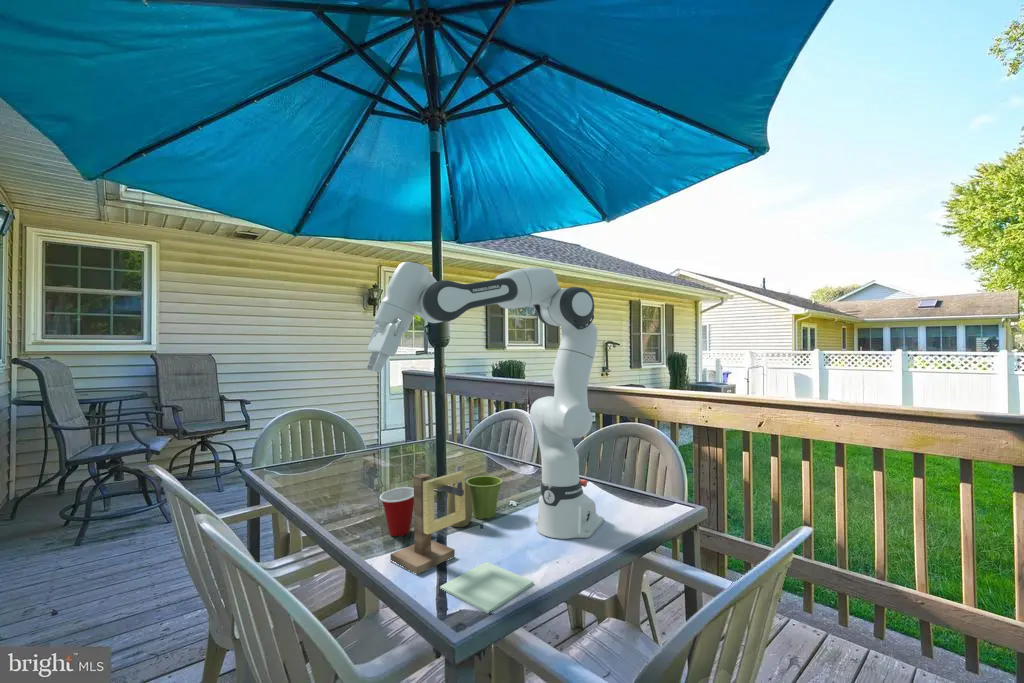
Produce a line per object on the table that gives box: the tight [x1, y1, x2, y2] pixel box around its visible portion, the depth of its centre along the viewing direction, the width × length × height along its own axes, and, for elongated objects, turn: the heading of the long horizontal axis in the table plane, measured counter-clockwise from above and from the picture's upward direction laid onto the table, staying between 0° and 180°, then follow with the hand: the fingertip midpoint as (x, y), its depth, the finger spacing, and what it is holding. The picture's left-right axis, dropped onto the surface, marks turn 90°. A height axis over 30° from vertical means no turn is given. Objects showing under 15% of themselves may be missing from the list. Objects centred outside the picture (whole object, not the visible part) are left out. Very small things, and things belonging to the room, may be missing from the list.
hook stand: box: [390, 473, 464, 575], centre depth 112 cm, size 12×20×22 cm, turn 49°
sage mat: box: [439, 561, 534, 614], centre depth 102 cm, size 15×15×1 cm
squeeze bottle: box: [446, 464, 473, 528], centre depth 138 cm, size 8×8×18 cm
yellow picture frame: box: [423, 470, 466, 535], centre depth 110 cm, size 12×2×12 cm, turn 139°
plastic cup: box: [379, 486, 414, 537], centre depth 132 cm, size 11×11×12 cm
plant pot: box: [466, 475, 503, 520], centre depth 145 cm, size 12×12×11 cm
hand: (372, 370), depth 112 cm, fingers open, 8 cm apart
